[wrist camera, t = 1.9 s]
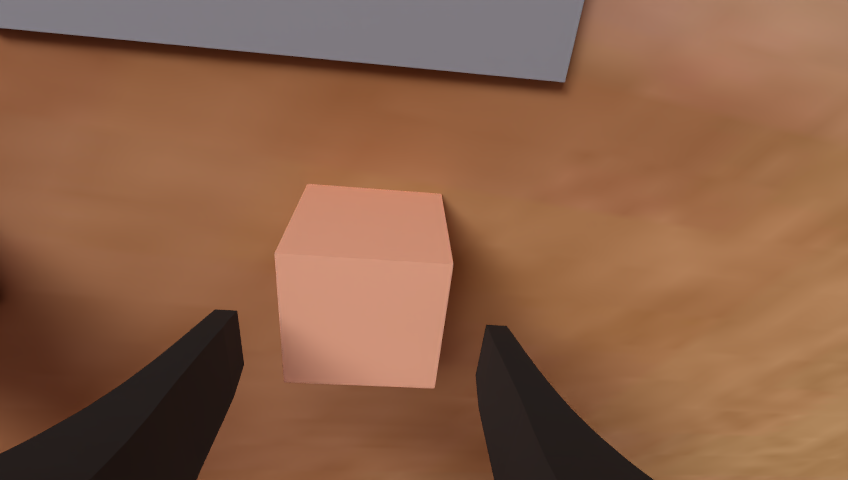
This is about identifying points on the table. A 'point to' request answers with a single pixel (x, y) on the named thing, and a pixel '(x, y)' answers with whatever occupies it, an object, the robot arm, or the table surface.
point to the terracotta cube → (363, 287)
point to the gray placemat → (335, 29)
